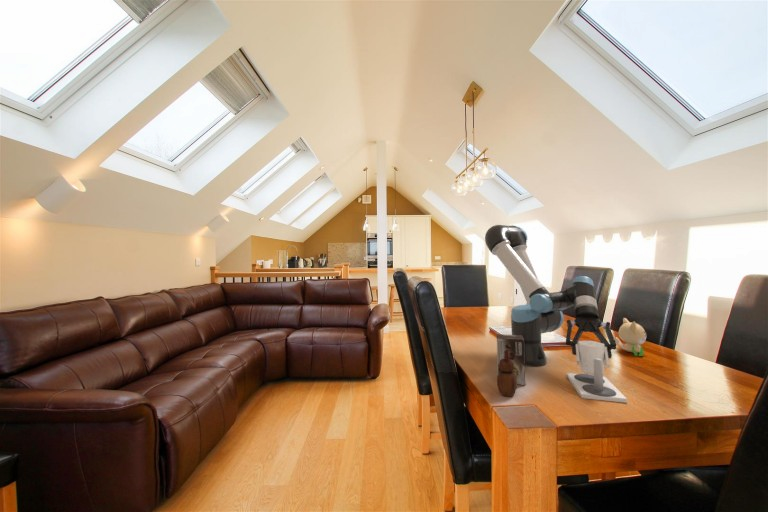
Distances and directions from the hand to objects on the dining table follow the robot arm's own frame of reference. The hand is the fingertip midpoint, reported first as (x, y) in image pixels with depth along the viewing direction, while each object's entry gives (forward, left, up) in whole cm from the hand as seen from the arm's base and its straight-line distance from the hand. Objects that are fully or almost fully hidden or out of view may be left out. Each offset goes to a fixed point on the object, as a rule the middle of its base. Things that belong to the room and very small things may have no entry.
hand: (592, 364), depth 106 cm
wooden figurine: (-28, -14, -8) cm, 32 cm away
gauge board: (0, -1, -8) cm, 8 cm away
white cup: (+1, +3, -4) cm, 5 cm away
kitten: (+30, +50, -8) cm, 59 cm away
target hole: (0, +4, -7) cm, 8 cm away
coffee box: (-26, -2, -8) cm, 27 cm away
